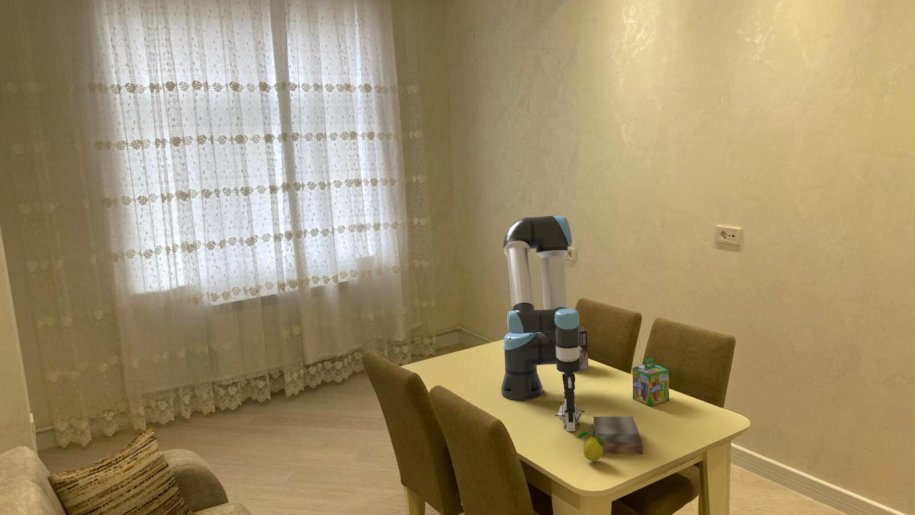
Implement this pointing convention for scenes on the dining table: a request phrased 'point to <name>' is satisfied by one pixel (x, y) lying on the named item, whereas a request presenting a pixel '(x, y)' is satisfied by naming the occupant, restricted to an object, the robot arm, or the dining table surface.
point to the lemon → (592, 446)
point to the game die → (563, 415)
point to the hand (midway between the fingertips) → (570, 424)
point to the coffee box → (583, 348)
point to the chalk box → (650, 383)
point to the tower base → (620, 446)
